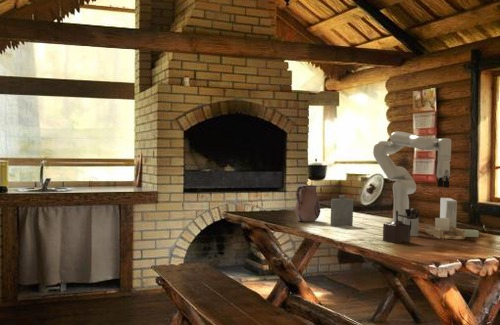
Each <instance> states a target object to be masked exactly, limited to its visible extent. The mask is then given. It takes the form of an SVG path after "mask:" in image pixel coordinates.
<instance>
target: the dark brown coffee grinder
mask: <svg viewBox="0 0 500 325" xmlns="http://www.w3.org/2000/svg"><path fill="white" fill-rule="evenodd" d="M410 209H411V210H410V212H411V215H410V216H404V215H399V214H398V211H396V221H393V220H392V221H393V222H392V221H390V222H391V223H386V222H385V223H386V224H385V223H383V228H382V241H383V242H388V243H392V244H404V243H411V236H410V225H407V224H404V223H403V222H402V221H398V216H401V217H406V218H413V217H415V215H416V214H417V213H418V211H417V210H418V209H416V208H410Z"/></svg>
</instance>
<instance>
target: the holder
mask: <svg viewBox="0 0 500 325" xmlns="http://www.w3.org/2000/svg"><path fill="white" fill-rule="evenodd" d="M462 230H465V238H469V237H470V238H479V237H480V230H476V229H466V228H464V229H463V228H462Z"/></svg>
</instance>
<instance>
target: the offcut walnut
mask: <svg viewBox="0 0 500 325" xmlns="http://www.w3.org/2000/svg"><path fill="white" fill-rule="evenodd" d="M443 234H447V235H451V231H446V230H443Z"/></svg>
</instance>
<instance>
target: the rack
mask: <svg viewBox="0 0 500 325" xmlns="http://www.w3.org/2000/svg"><path fill="white" fill-rule="evenodd" d="M462 229H463V228H462ZM462 229H461V228H458V227H457V226H456V227H453V226H450V225H449V231H451V234H453V235H454V236H443V230H442V229H439V228H436V227H435V225H434V226H433V225H430V224H425V233H426V234H428V235H430V236H432V235H433V236H432V237H435V238H438V239H440V238H442V239H441V240H465V238H466V237H465V230H462ZM444 238H445V239H444Z"/></svg>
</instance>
